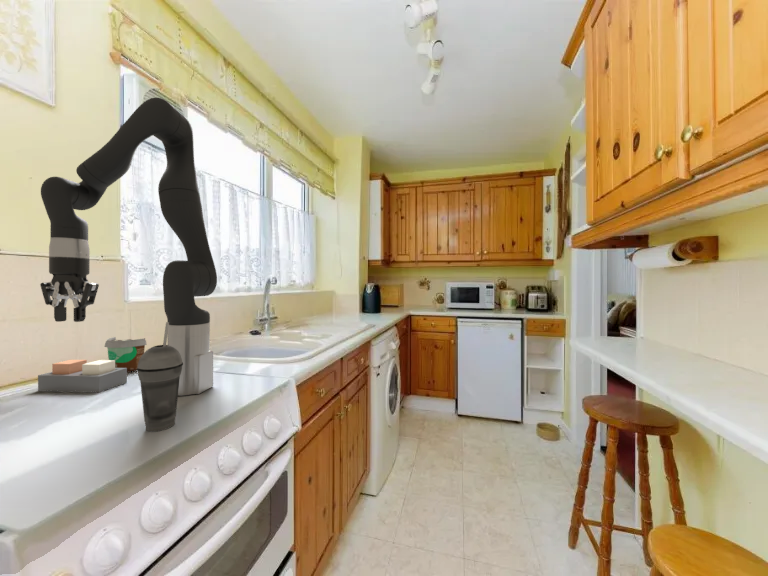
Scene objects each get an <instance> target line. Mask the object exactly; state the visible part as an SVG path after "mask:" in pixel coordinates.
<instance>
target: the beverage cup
mask: <svg viewBox="0 0 768 576" xmlns="http://www.w3.org/2000/svg"><path fill="white" fill-rule="evenodd" d="M168 327H169V322H168V321H165V326H164V336H163V341H162V342H163V343H162V344H159V345H153V346H152V347H150V348H148V349H147V350H145V351H144V354H143V355H142V356H141V358H140V360H139V363H138V367H137V371H136V372H137V376H138V379H139V382H140V390H141V401H142V410H143V419H144V424H145V425H144V426H145V430H146V432H160V431H165V430H168V429H169V428H171V427H173V426H174V425H175V423H176V422H175V420H176V417H177V409H178V408H177V407H178V398H179V397H178V389H179V379H180V375H181V371H182V365H183V362H182V357H181V355H180V353H179V351H178V350H177V349H175V348H174V347H172V346H169V345H167V343H168Z"/></svg>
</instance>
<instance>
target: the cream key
mask: <svg viewBox="0 0 768 576" xmlns="http://www.w3.org/2000/svg"><path fill="white" fill-rule="evenodd" d="M114 370H115V360H109V359H98V360H95V361H89V362H87V363H86V364H82V375H101V374H104V373H107V372H111V371H114Z"/></svg>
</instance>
